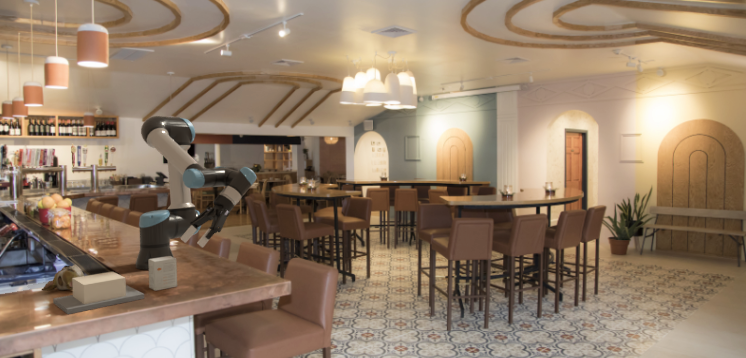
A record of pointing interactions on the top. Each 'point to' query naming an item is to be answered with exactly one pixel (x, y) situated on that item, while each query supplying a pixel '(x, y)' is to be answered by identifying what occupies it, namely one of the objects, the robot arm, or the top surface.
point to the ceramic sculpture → (64, 278)
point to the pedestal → (97, 293)
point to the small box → (162, 273)
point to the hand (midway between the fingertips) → (191, 242)
